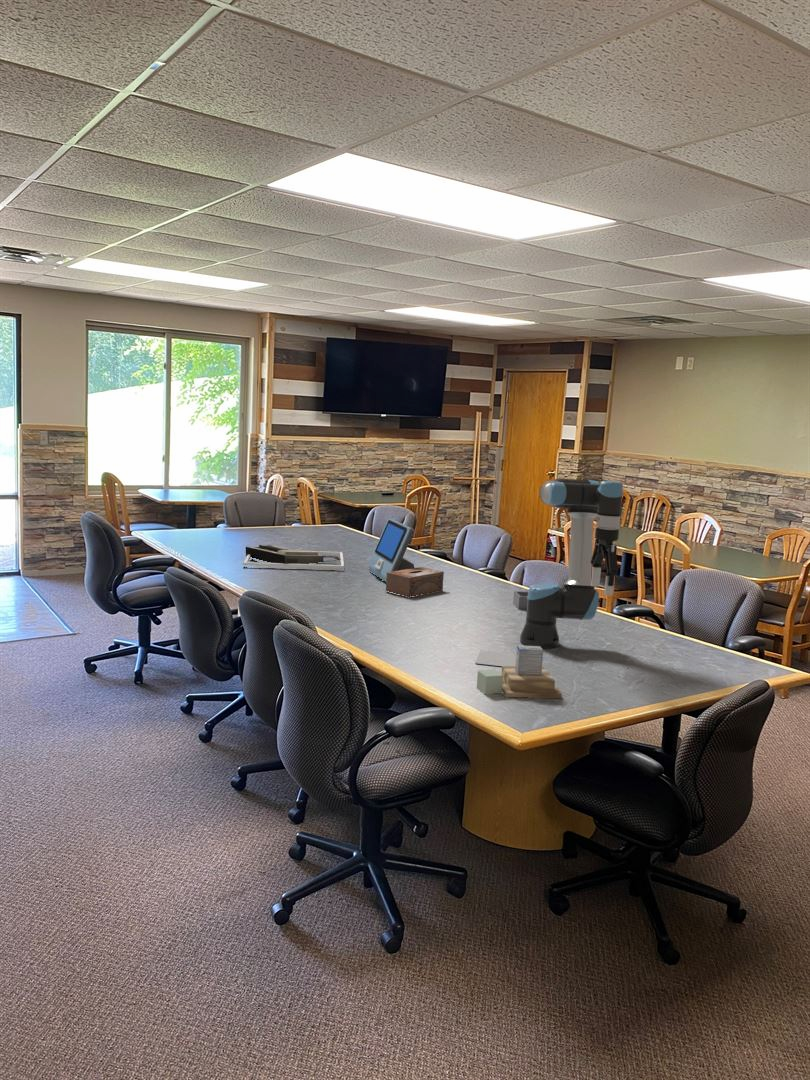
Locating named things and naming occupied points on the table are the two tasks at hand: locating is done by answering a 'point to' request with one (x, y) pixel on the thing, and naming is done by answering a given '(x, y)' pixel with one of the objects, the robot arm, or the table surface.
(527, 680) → the pedestal
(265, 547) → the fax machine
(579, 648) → the table surface
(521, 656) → the medicine box
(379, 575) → the touchscreen device
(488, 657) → the paper stack
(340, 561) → the document tray rim
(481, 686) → the green block
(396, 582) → the tissue box cover
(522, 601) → the desk organizer
